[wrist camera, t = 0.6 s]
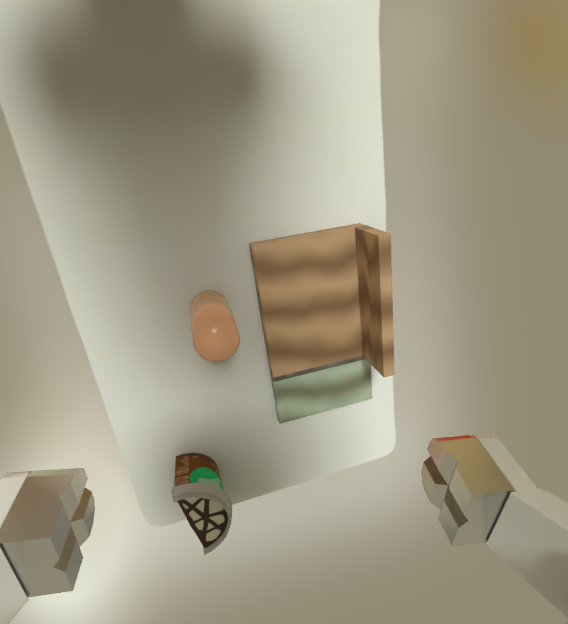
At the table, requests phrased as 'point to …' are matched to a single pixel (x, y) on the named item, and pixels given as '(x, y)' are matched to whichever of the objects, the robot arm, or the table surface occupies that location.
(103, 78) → the table surface
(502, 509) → the robot arm
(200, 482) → the food container
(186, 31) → the table surface
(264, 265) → the brown wooden l-shaped board
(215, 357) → the peach cylinder
